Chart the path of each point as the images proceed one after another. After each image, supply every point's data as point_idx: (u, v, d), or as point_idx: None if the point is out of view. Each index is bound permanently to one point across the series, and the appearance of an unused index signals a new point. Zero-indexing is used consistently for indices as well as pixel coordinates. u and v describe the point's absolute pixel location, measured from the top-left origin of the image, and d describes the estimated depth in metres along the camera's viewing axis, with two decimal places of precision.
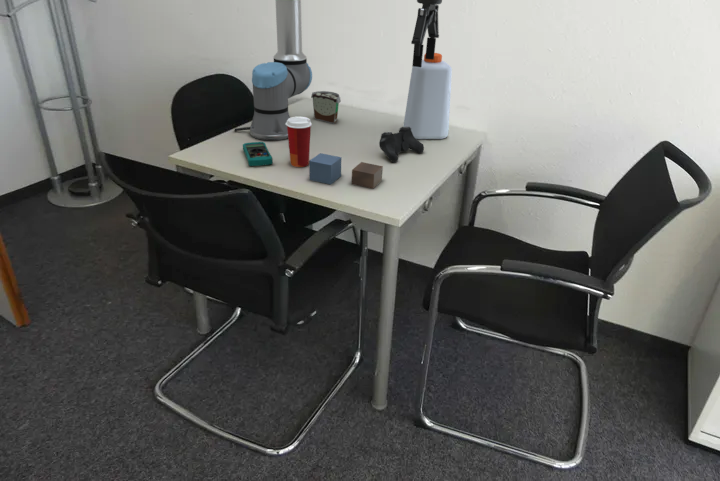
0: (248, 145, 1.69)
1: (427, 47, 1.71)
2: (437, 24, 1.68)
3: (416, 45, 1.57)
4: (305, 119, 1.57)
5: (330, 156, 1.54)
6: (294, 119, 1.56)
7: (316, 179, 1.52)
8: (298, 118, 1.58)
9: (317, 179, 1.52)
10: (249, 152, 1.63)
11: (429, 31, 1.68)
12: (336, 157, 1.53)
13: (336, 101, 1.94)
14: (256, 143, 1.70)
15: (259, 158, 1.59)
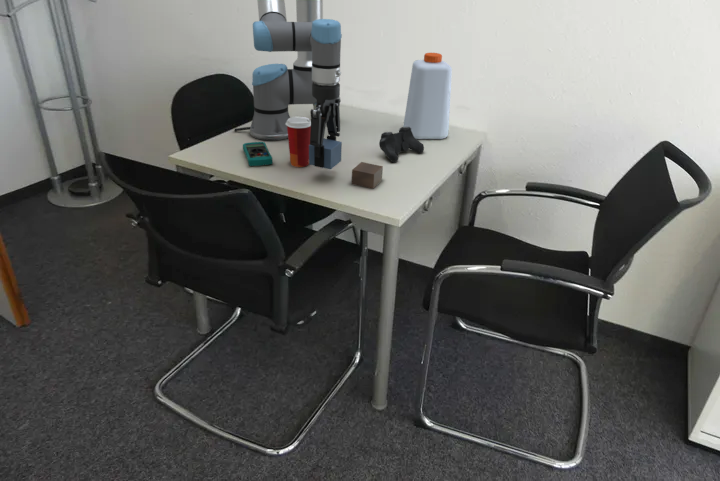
0: (248, 145, 1.69)
1: None
2: (338, 120, 1.51)
3: (315, 147, 1.45)
4: (305, 119, 1.57)
5: (330, 141, 1.51)
6: (294, 119, 1.56)
7: None
8: (298, 118, 1.58)
9: None
10: (249, 152, 1.63)
11: (328, 128, 1.51)
12: (336, 142, 1.51)
13: None
14: (256, 143, 1.70)
15: (259, 158, 1.59)
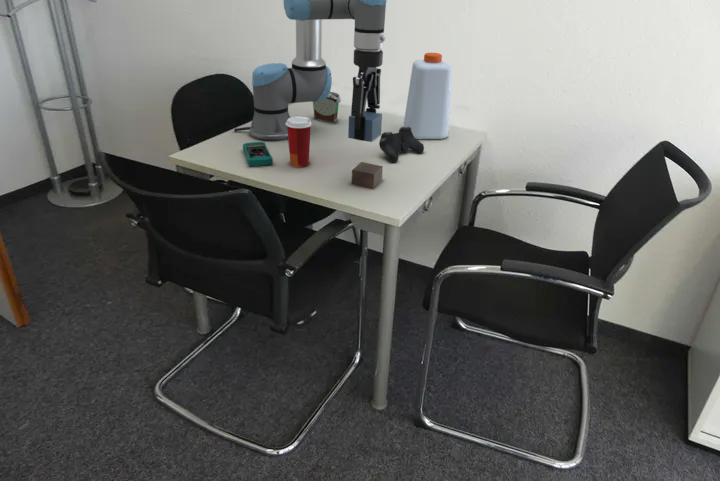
0: (248, 145, 1.69)
1: None
2: (378, 91, 1.45)
3: (356, 117, 1.39)
4: (305, 119, 1.57)
5: (370, 113, 1.45)
6: (294, 119, 1.56)
7: None
8: (298, 118, 1.58)
9: None
10: (249, 152, 1.63)
11: (368, 99, 1.45)
12: (376, 114, 1.45)
13: (336, 101, 1.94)
14: (256, 143, 1.70)
15: (259, 158, 1.59)
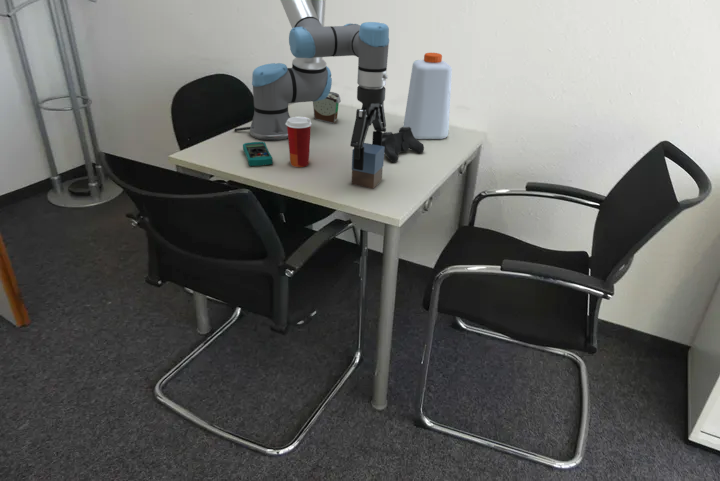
0: (248, 145, 1.69)
1: (373, 141, 1.54)
2: (383, 118, 1.50)
3: (355, 148, 1.40)
4: (305, 119, 1.57)
5: (373, 145, 1.50)
6: (294, 119, 1.56)
7: None
8: (298, 118, 1.58)
9: None
10: (249, 152, 1.63)
11: (374, 125, 1.51)
12: (379, 146, 1.49)
13: (336, 101, 1.94)
14: (256, 143, 1.70)
15: (259, 158, 1.59)
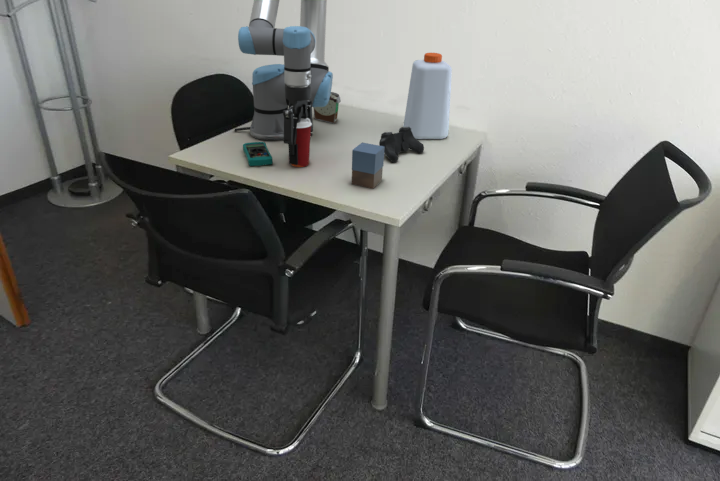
0: (248, 145, 1.69)
1: None
2: (311, 120, 1.61)
3: (289, 145, 1.55)
4: (305, 119, 1.57)
5: (373, 145, 1.50)
6: None
7: (359, 169, 1.48)
8: None
9: (360, 169, 1.48)
10: (249, 152, 1.63)
11: None
12: (379, 146, 1.49)
13: (336, 101, 1.94)
14: (256, 143, 1.70)
15: (259, 158, 1.59)
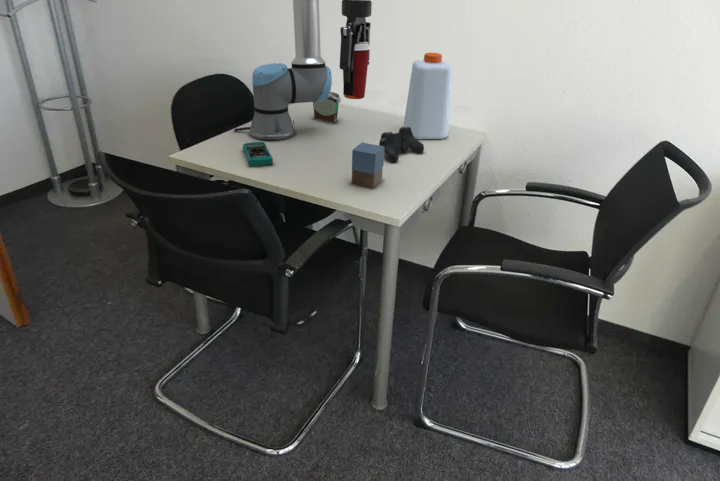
0: (248, 145, 1.69)
1: None
2: None
3: (345, 71, 1.35)
4: (363, 42, 1.37)
5: (373, 145, 1.50)
6: None
7: (359, 169, 1.48)
8: None
9: (360, 169, 1.48)
10: (249, 152, 1.63)
11: None
12: (379, 146, 1.49)
13: (336, 101, 1.94)
14: (256, 143, 1.70)
15: (259, 158, 1.59)
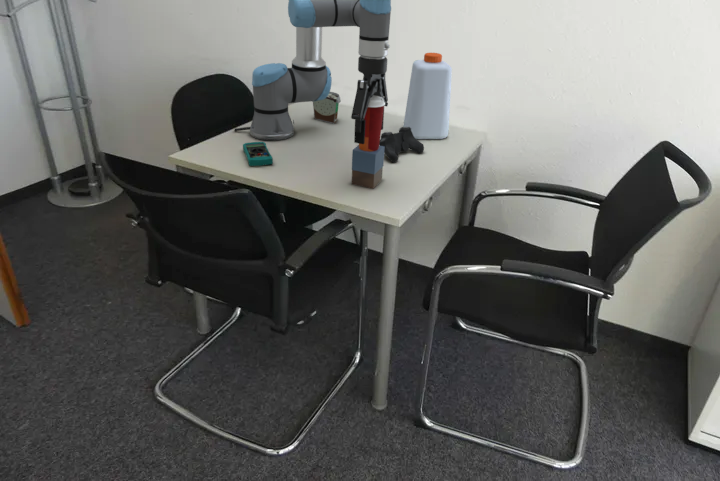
0: (248, 145, 1.69)
1: None
2: (385, 91, 1.47)
3: (357, 121, 1.36)
4: (378, 98, 1.42)
5: None
6: None
7: (359, 169, 1.48)
8: None
9: (360, 169, 1.48)
10: (249, 152, 1.63)
11: None
12: (379, 146, 1.49)
13: (336, 101, 1.94)
14: (256, 143, 1.70)
15: (259, 158, 1.59)
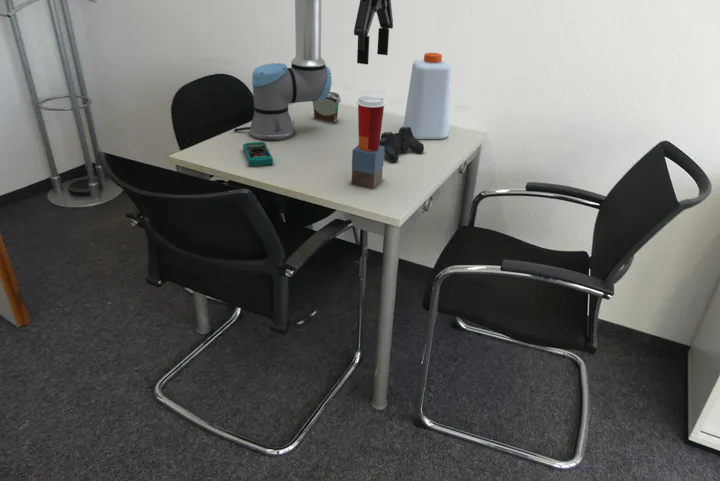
0: (248, 145, 1.69)
1: (379, 40, 1.39)
2: (390, 11, 1.36)
3: (360, 37, 1.26)
4: (378, 98, 1.42)
5: None
6: (366, 98, 1.41)
7: (359, 169, 1.48)
8: (370, 97, 1.42)
9: (360, 169, 1.48)
10: (249, 152, 1.63)
11: (380, 20, 1.36)
12: (379, 146, 1.49)
13: (336, 101, 1.94)
14: (256, 143, 1.70)
15: (259, 158, 1.59)
